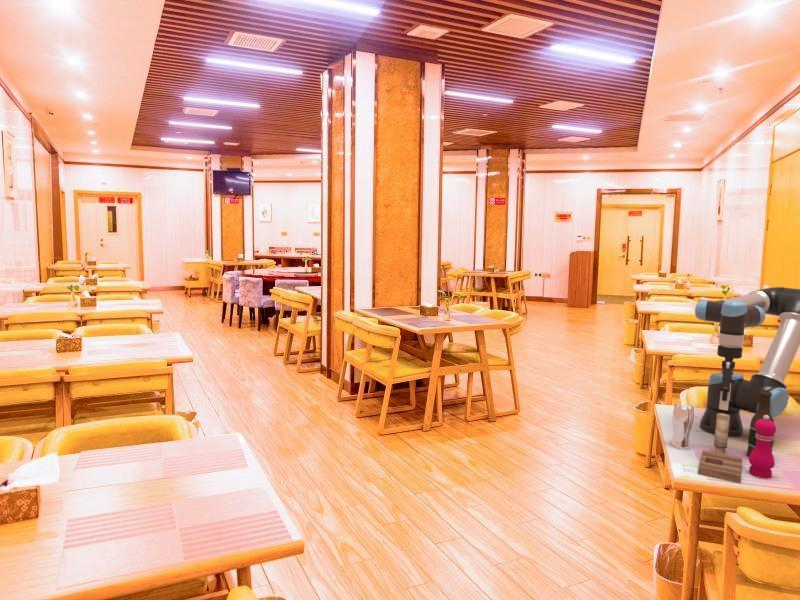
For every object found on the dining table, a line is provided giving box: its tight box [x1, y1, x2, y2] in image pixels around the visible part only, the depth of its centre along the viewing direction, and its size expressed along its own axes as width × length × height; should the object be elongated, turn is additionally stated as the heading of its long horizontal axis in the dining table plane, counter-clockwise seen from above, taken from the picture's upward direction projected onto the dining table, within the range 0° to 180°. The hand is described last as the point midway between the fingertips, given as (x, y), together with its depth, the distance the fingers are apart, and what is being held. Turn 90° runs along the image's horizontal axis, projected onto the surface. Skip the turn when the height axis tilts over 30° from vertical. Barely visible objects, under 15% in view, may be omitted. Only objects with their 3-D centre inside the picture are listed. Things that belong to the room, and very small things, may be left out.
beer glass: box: [671, 403, 695, 450], centre depth 213 cm, size 7×7×15 cm
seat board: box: [697, 449, 743, 484], centre depth 193 cm, size 17×12×2 cm
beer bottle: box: [746, 391, 776, 458], centre depth 203 cm, size 8×8×24 cm
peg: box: [713, 413, 730, 455], centre depth 207 cm, size 4×4×14 cm
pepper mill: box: [748, 415, 777, 479], centre depth 189 cm, size 7×7×20 cm
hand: (724, 404), depth 206 cm, fingers open, 13 cm apart
